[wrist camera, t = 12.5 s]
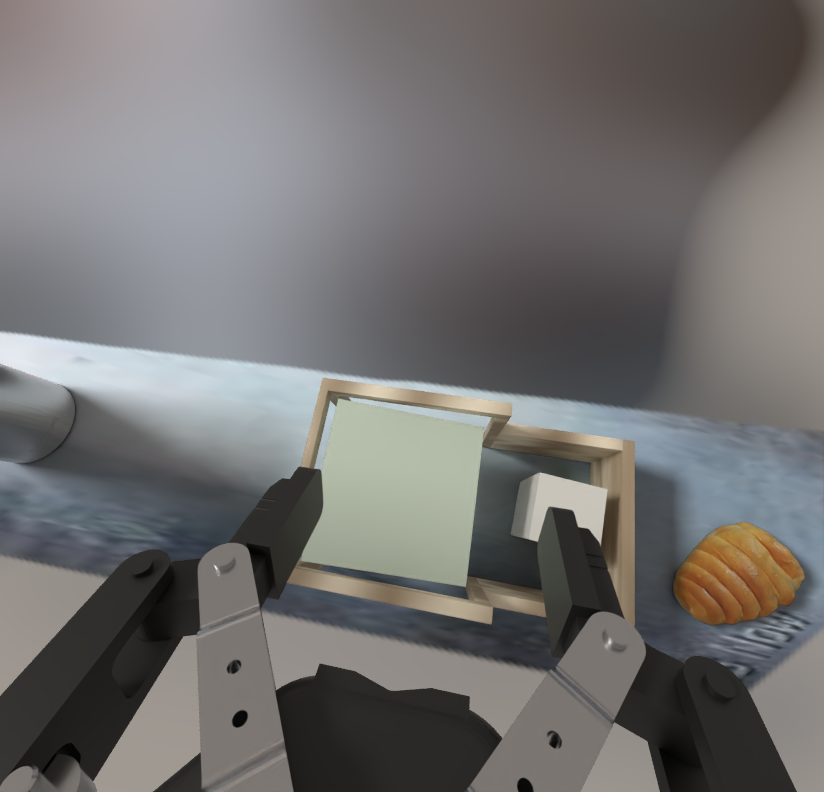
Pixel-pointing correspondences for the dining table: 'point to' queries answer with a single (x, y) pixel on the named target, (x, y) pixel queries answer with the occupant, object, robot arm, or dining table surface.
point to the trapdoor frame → (604, 454)
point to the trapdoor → (397, 494)
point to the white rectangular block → (557, 504)
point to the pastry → (737, 576)
